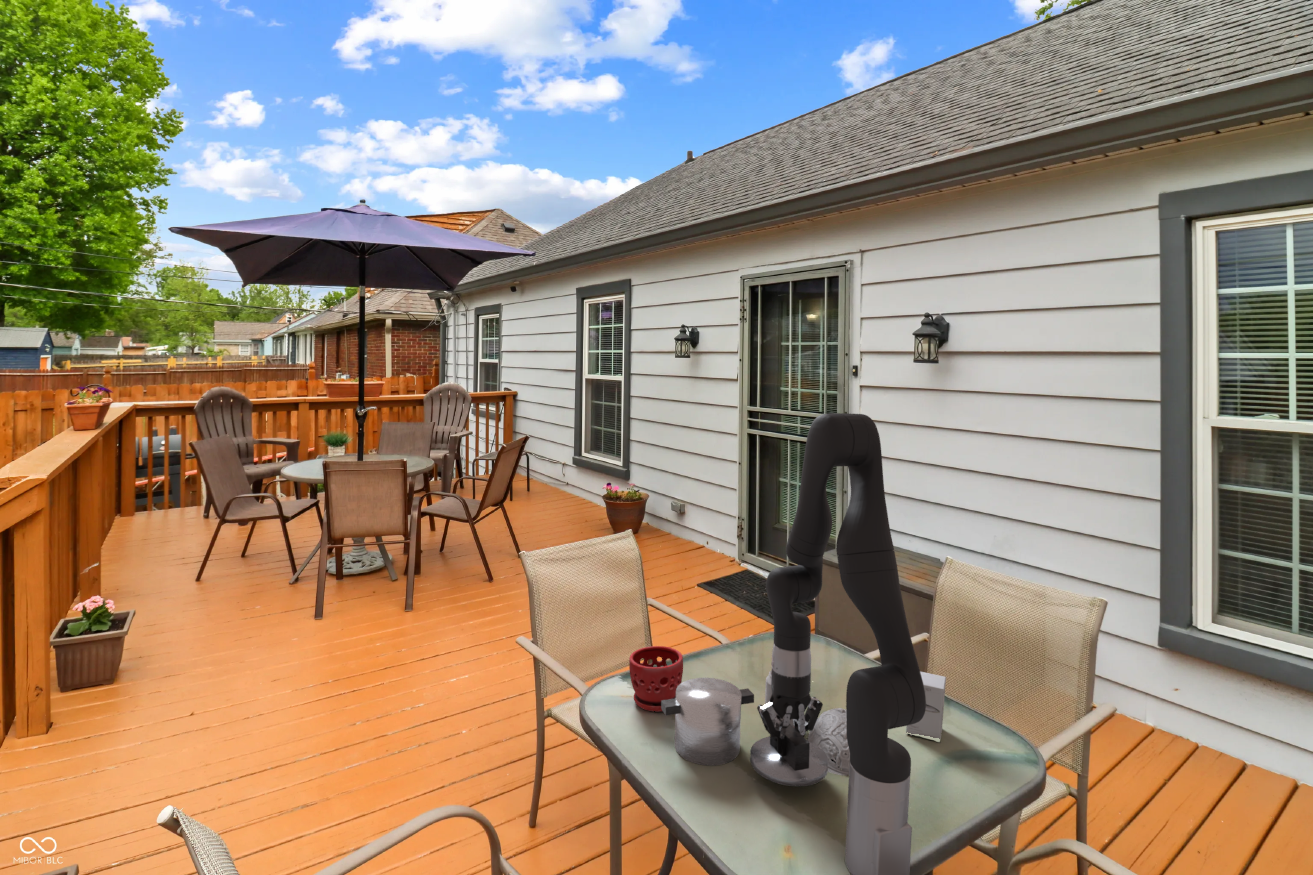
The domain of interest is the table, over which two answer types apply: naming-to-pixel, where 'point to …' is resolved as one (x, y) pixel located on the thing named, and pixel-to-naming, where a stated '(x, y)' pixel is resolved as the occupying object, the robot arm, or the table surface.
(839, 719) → the grey oval domed piece
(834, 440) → the robot arm
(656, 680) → the plant pot
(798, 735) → the lid
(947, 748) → the table surface
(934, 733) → the supplement box
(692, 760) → the cooker
